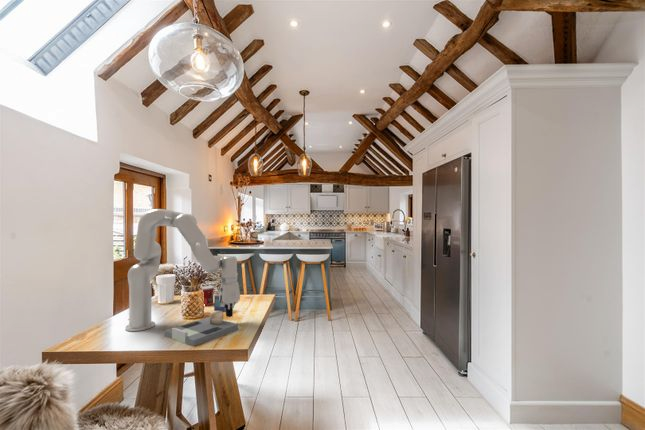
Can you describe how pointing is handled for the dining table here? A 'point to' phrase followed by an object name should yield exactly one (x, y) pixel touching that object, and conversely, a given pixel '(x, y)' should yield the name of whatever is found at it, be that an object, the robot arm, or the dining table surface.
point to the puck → (216, 317)
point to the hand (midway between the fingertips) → (229, 316)
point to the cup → (165, 288)
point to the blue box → (218, 304)
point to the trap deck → (200, 331)
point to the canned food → (208, 295)
